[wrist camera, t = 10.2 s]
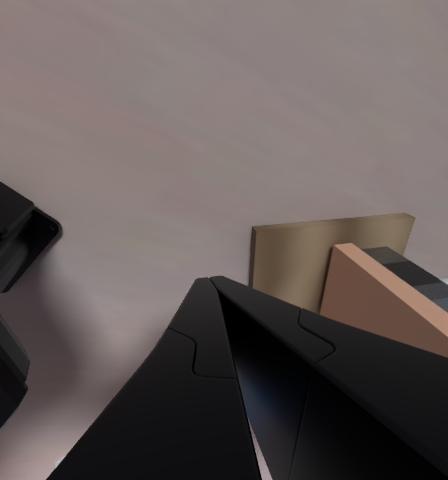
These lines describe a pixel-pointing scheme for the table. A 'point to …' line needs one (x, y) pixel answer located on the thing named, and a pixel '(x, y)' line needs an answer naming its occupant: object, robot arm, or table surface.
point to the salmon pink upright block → (381, 302)
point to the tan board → (315, 253)
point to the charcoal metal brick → (412, 275)
